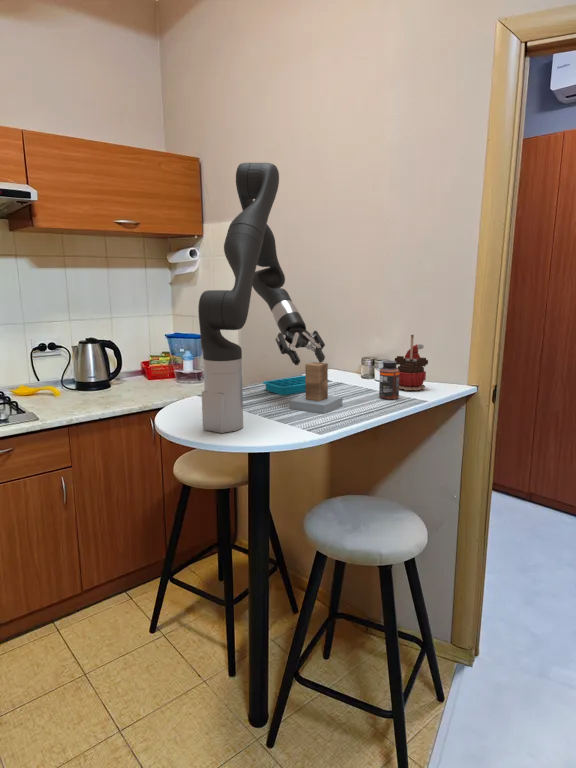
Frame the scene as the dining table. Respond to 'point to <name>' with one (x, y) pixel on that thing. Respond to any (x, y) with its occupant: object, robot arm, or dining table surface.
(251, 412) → the dining table surface
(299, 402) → the base block
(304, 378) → the ice cube tray
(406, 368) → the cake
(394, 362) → the supplement bottle
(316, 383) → the walnut post
